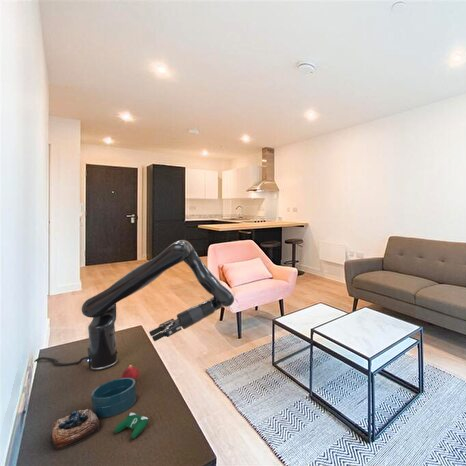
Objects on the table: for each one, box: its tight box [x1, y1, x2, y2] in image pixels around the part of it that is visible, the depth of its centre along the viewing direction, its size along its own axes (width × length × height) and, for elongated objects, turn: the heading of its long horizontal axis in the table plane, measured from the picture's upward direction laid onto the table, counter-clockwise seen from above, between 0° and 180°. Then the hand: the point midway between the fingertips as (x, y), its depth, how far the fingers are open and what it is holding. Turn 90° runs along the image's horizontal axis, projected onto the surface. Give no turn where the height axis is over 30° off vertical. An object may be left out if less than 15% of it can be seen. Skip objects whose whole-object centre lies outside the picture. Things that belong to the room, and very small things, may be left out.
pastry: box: [51, 408, 100, 450], centre depth 93 cm, size 11×12×6 cm
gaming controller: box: [114, 412, 149, 440], centre depth 95 cm, size 9×4×6 cm
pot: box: [91, 377, 137, 419], centre depth 106 cm, size 12×12×7 cm
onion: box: [121, 364, 140, 382], centre depth 119 cm, size 6×6×8 cm
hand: (151, 336), depth 124 cm, fingers open, 8 cm apart
